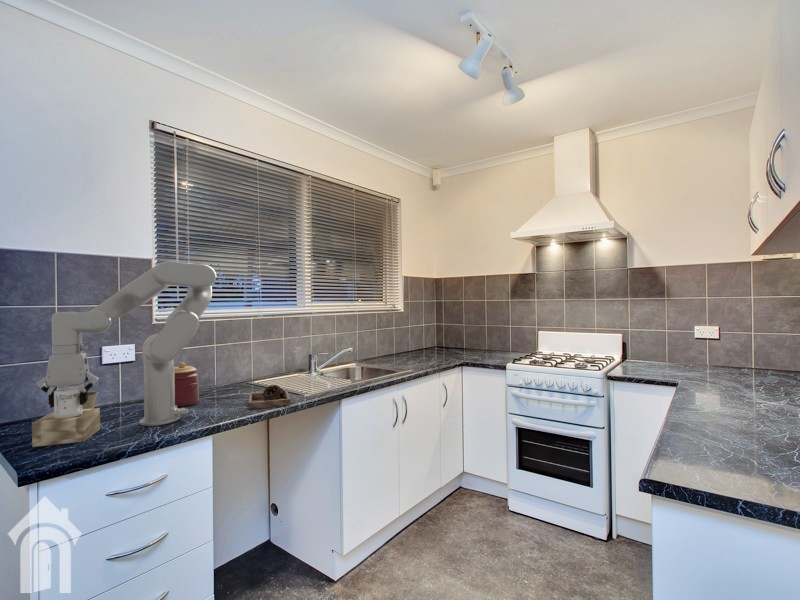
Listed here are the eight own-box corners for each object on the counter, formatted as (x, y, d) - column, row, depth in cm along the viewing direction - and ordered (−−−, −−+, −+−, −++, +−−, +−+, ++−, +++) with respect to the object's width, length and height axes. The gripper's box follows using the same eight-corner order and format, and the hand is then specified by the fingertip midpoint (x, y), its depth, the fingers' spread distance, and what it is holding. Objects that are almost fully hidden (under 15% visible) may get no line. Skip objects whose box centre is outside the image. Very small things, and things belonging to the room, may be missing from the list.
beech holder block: (99, 428, 137) (99, 407, 137) (84, 441, 125) (84, 418, 125) (53, 433, 133) (53, 411, 133) (32, 446, 121) (32, 422, 121)
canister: (176, 408, 162) (175, 365, 162) (158, 405, 168) (157, 363, 168) (205, 401, 173) (205, 360, 173) (187, 398, 180) (187, 359, 180)
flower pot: (69, 422, 145) (69, 398, 145) (64, 417, 151) (64, 394, 151) (101, 416, 152) (100, 394, 152) (95, 412, 158) (95, 390, 158)
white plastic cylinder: (79, 427, 134) (79, 382, 134) (85, 431, 129) (84, 385, 129) (52, 433, 129) (51, 386, 128) (57, 437, 124) (56, 389, 124)
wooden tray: (287, 395, 182) (287, 390, 182) (290, 405, 165) (290, 399, 165) (249, 398, 177) (249, 393, 177) (248, 409, 160) (248, 402, 160)
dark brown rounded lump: (291, 402, 172) (285, 388, 168) (272, 415, 167) (265, 401, 163) (278, 391, 180) (272, 377, 176) (259, 403, 175) (253, 389, 171)
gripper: (104, 347, 135) (104, 399, 135) (40, 350, 130) (41, 405, 130) (95, 349, 128) (96, 405, 128) (27, 353, 123) (28, 411, 123)
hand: (68, 404), depth 129 cm, fingers closed on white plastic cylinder, 7 cm apart
